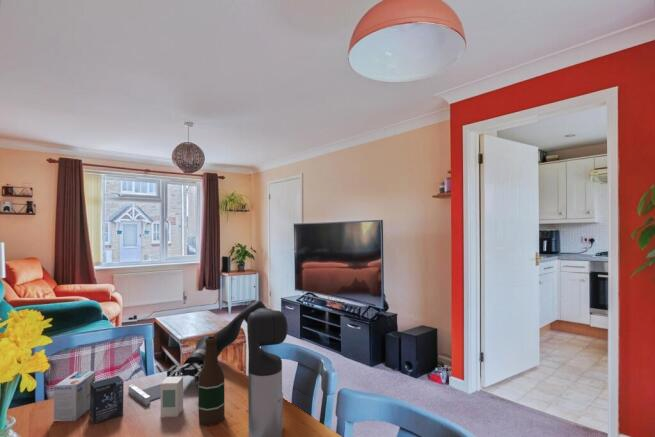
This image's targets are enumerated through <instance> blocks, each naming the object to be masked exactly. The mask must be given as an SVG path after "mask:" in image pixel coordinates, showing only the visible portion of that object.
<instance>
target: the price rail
mask: <svg viewBox="0 0 655 437" xmlns="http://www.w3.org/2000/svg"><path fill="white" fill-rule="evenodd" d="M142 390H143V389H141V388H139V387H138V386H136V385H135V384H129V385H128V394H129V395H131V397H133V398H134V399H135V400H137V401H138V402H140V404H142V405H143V406H144V407H147V406H149V405H151V401H150V396H149V395H147V394H146V393H145V392H144V391H142Z"/></svg>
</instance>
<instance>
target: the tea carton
mask: <svg viewBox="0 0 655 437" xmlns="http://www.w3.org/2000/svg"><path fill="white" fill-rule="evenodd" d="M160 384H161V398H160V418H175V417H176V418H177V417H179V416H180V414H181V413H182V411H183V410H184V377H183V376H181V377H167V376H166V377H164V380H162V381H161V382H160Z"/></svg>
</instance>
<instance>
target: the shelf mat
mask: <svg viewBox="0 0 655 437" xmlns="http://www.w3.org/2000/svg"><path fill="white" fill-rule="evenodd" d="M141 390H142V391H144V392H145V393H146V394H147V395H149V396H150V402H152V401H155V400H158V399H161V383H159V384H157V385H154V386H151V387H148V388H147V387H146V388H145V389H141Z"/></svg>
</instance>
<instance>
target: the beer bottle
mask: <svg viewBox="0 0 655 437" xmlns="http://www.w3.org/2000/svg"><path fill="white" fill-rule="evenodd" d="M217 342H218V340H217V337H213V336H211V337H208V338H206V340H205V343H206V353H205V363H204V366H203V368H202V369H201V371H200V374H199V381H198V382H197V383H198V385H197V386H198V389H197V390H198V394H197V395H198V398H197V399H198V406H197V408H198V423H199V424H200V425H202V426H206V427H208V426H209V427H210V426H215V425H218V424H219V423H220V422H222V421H224V419H225V409H226V408H225V374H224V371H223V368H222V366H221V365H220V363H219V360H218V359H219V358H218V357H219V356H217Z"/></svg>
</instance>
